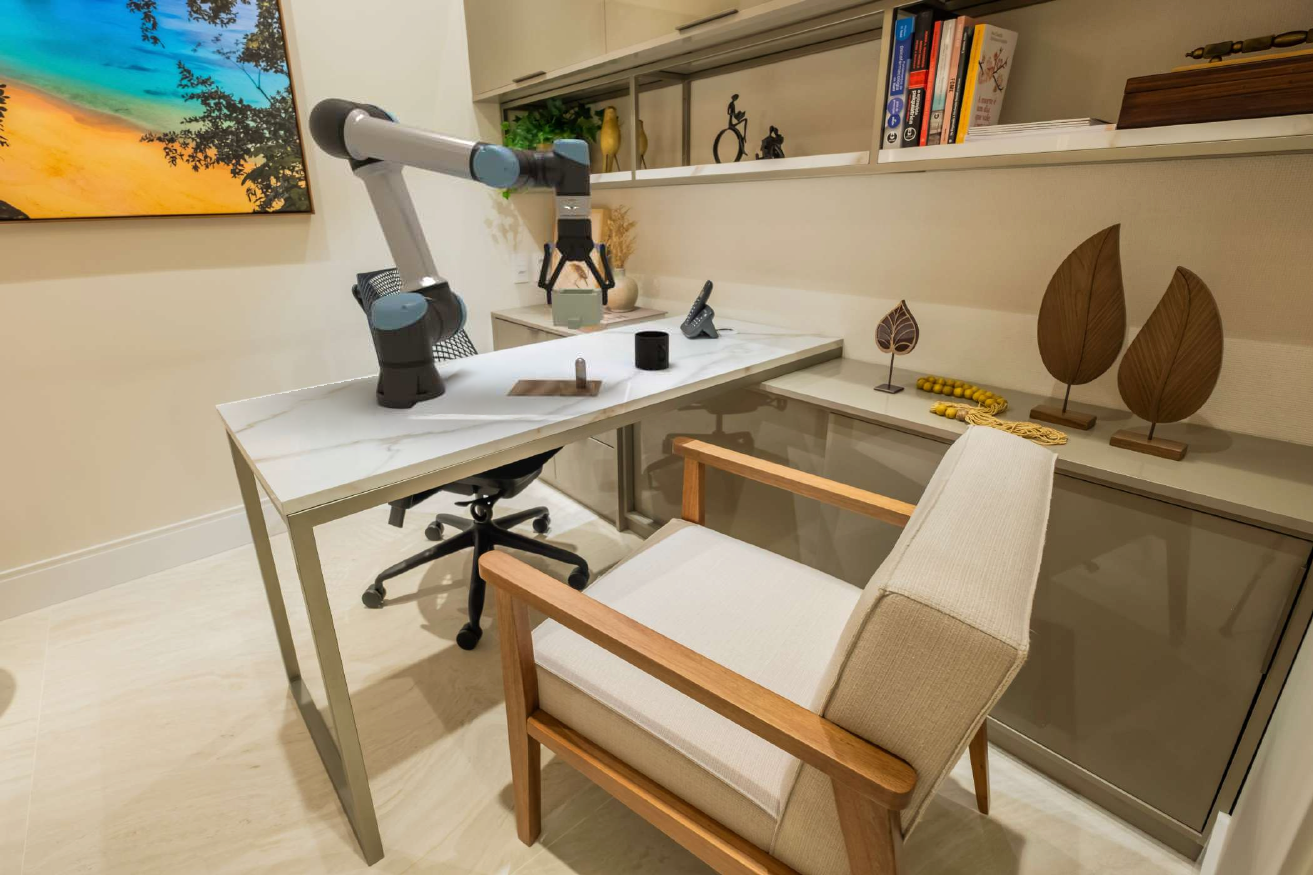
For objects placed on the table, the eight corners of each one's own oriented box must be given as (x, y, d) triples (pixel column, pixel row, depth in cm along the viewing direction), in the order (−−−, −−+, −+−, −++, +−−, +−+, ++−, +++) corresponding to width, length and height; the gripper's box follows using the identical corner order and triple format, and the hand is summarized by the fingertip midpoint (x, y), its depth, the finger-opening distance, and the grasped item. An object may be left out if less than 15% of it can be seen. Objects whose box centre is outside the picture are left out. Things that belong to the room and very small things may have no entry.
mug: (650, 374, 167) (650, 341, 164) (628, 364, 176) (628, 333, 173) (680, 369, 171) (680, 337, 168) (657, 360, 181) (657, 329, 178)
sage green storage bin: (560, 318, 150) (558, 288, 148) (601, 318, 150) (601, 288, 148) (551, 329, 138) (549, 297, 136) (596, 329, 138) (595, 297, 136)
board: (506, 400, 145) (505, 383, 144) (519, 384, 158) (518, 368, 156) (596, 401, 145) (596, 384, 143) (602, 385, 157) (602, 368, 156)
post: (575, 388, 150) (574, 359, 148) (577, 385, 153) (575, 356, 150) (585, 388, 150) (584, 359, 148) (587, 385, 153) (586, 356, 150)
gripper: (518, 218, 134) (526, 321, 142) (624, 218, 134) (626, 322, 142) (526, 216, 141) (532, 315, 149) (626, 217, 141) (627, 316, 149)
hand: (578, 319), depth 145 cm, fingers closed on sage green storage bin, 10 cm apart
